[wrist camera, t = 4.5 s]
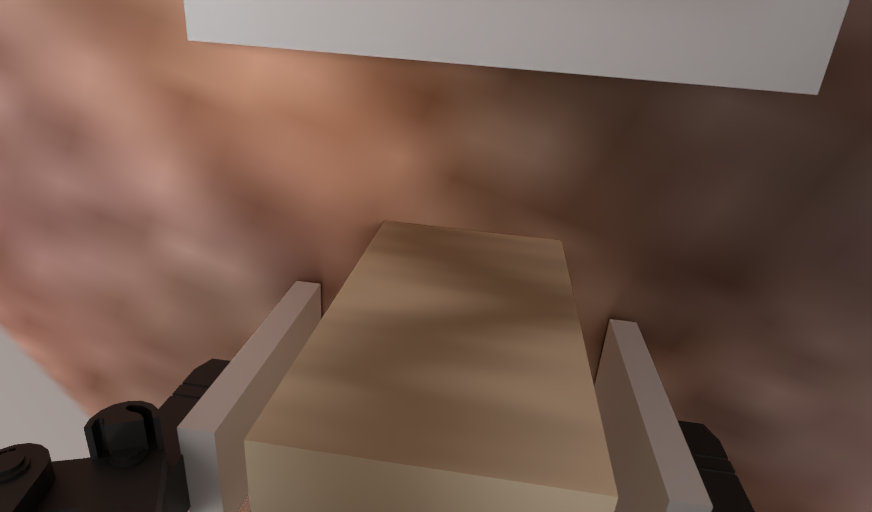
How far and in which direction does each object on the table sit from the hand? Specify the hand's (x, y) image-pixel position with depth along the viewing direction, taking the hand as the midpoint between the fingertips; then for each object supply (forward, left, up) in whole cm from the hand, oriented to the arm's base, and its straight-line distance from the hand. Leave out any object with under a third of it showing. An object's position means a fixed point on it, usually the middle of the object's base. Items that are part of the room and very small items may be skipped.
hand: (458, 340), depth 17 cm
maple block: (0, 0, 0) cm, 0 cm away
